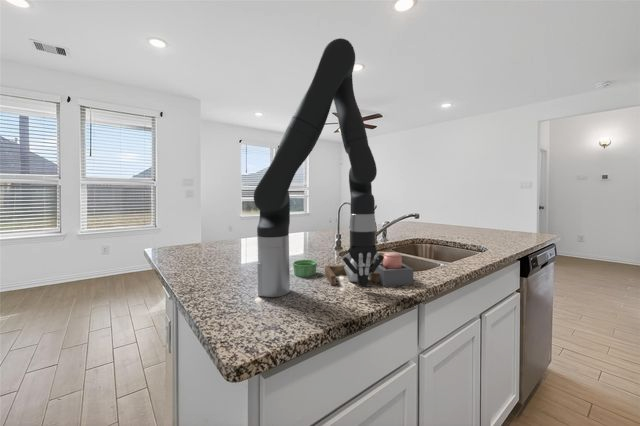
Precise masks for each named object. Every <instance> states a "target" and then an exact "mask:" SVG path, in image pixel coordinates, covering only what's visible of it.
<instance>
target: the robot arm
mask: <svg viewBox="0 0 640 426" xmlns="http://www.w3.org/2000/svg"><path fill="white" fill-rule="evenodd" d="M355 52H356V51H355V49H354V46H353V44H352V43H351V42H350V41H349V40H348V39H345V38H342V37H341V38H335V39H333V40H331V41H330V42H329V43H327V44H326V46H325V47H324V49H323V51H322V53H321V56H320V59H319V62H318V64H317V68H316V69H315V72H314V76H313V77H312V79H311V82H310V84H309V86H308V88H307V90H306V91H305V92H304V94H303V96H302V98H301V100H300V102H299V104H298V105H297V107H296V109H295V112H294V113H293V115H292V117H291V118H290V121H289V123H288V125H287V127H286V128H285V131H284V134H283V136H282V138H281V140H280V143H279V145H278V148H277V150H276V152H275V155H274V157H273V159H272V160H271V163H270V165H269V166H268V167H267V169H266V171H265V173H264V174H263V176H262V177H261V179H260V180H259V183H258V184H257V186H256V188H255V189H254V192H253V202H254V205H255V206H256V207H257V209H258V210H259V221H258V225H257V228H256V229H257V230H256V232H257V233H256V235H257V237H256V238H257V239H256V240H257V264H256V265H257V267H256V268H257V296H258V297H265V298H279V297H282V296H285V295H288V294H289V293H290V291H291V280H290V279H291V278H290V277H291V276H290V272H291V271H290V235H289V234H290V223H291V222H290V221H291V218H290V217H291V214H290V213H291V212H290V211H291V209H290V208H291V207H290V206H291V205H290V204H291V202H290V201H291V199H290V192H289V189H290V186H291V185H292V182H293V179H294V177H295V175H296V173H297V172H298V170H299V169H300V167H301V166H302V165H303V163H304V162H305V161H306V160H307V158H308V157H309V156H310V154H311V152H312V151H313V149H315V146H316V145H317V142H318V140H319V138H320V136H321V135H322V133H323V129H324V127H325V125H326V121H327V119H328V116H329V114H330V111H331V108H332V104H333V103H334V106H335V110H336V114H337V119H338V126H339V129H340V131H339V132H340V134H341V140H342V144H343V149H344V151H345V152H346V154H347V155H348V159H349V163H350V168H349V171H348V184H349V192H350V193H349V194H350V216H349V227H348V229H349V248H348V250H347V251H348V253H346V254H345V255H342V256H341V260H342V261H343V262H344V264H345V265H347V266H348V267H349V268H350V270H351V271H352V272H353V273H354V274H357V282H356V283H357V285H358V286H359V287H360V288H366V287H367V286H368V284H369V277H368V274H369V273H373V272H374V271H375V270H376V269H377V267H378V266H379V264H380V263H383V259H384V256H383V255H382V254H380V253H379V252H378V249H377V247H376V241H377V239H376V231H377V230H376V228H377V227H376V225H377V224H376V223H377V222H376V214H375V213H376V212H375V210H376V206H375V204H376V203H375V196H374V194H373V192H372V188H373V187H372V182H374V181H375V179H376V177H377V170H378V169H377V164H376V161H375V158H374V155H373V153H372V150H371V147H370V145H369V139H368V136H367V131H366V130H367V129H366V125H365V123H364V118H363V116H362V113H361V111H360V109H359V106H358V104H357V100H356V96H355V92H354V83H353V72H354V69H355V64H356V63H355V62H356V53H355ZM352 258H353V260H354V261H355V262H356V267H357V269H355V267H354V266H353V265H352V264H351V262H350V261H351V259H352Z"/></svg>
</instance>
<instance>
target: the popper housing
mask: <svg viewBox="0 0 640 426" xmlns="http://www.w3.org/2000/svg"><path fill="white" fill-rule="evenodd" d="M375 271H376V272H378V273H379V284H380V285H381V286H382V287H395V286H410V284H413V285H414V269H413V268H412V267H410V266H408V265H407V264H405V263H403V262H402V268H401V269H385V268H384V267H383V262H381V263H380V264H379V266H378V267H377V269H376V270H375Z"/></svg>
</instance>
